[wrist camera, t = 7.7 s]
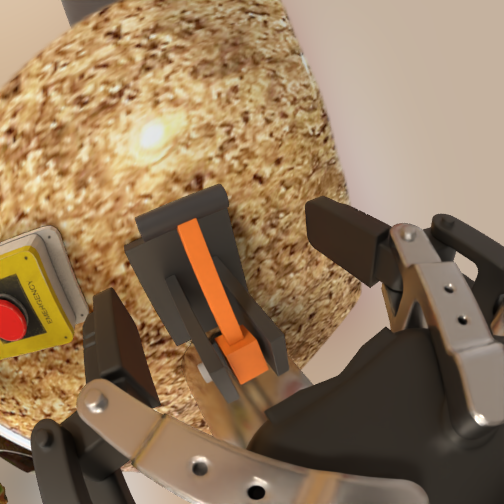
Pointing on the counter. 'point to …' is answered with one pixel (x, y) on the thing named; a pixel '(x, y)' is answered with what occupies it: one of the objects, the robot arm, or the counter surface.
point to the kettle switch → (207, 274)
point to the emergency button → (37, 293)
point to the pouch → (2, 495)
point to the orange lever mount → (194, 302)
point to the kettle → (251, 396)
